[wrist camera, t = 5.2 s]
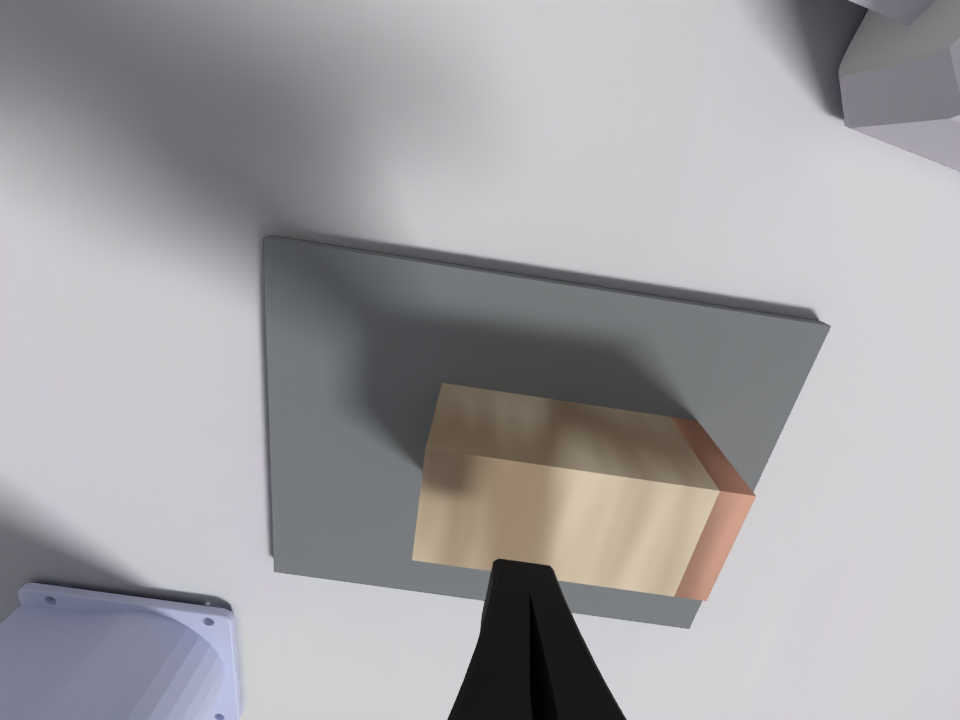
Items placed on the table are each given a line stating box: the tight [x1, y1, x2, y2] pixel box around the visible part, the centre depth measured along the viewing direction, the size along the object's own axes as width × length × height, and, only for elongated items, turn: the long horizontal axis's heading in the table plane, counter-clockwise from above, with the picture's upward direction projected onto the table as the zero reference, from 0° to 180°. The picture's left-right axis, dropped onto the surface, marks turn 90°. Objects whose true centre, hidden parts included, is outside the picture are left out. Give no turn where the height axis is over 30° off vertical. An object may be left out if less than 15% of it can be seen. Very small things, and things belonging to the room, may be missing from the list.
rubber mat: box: [263, 236, 831, 629], centre depth 18 cm, size 18×14×1 cm
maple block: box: [412, 383, 756, 601], centre depth 15 cm, size 4×4×9 cm
